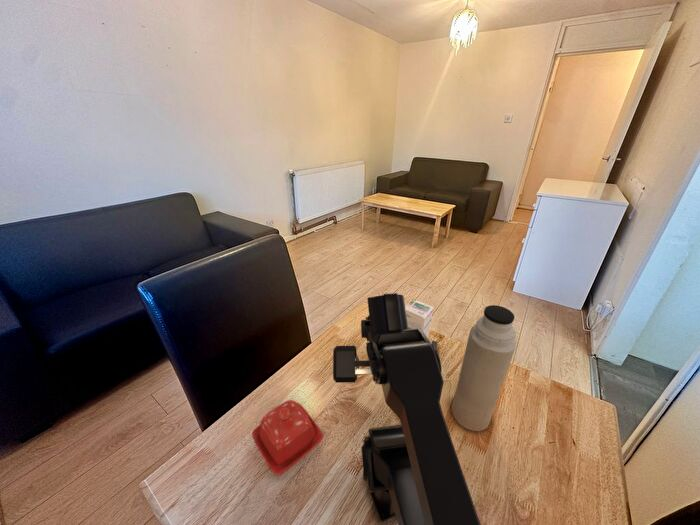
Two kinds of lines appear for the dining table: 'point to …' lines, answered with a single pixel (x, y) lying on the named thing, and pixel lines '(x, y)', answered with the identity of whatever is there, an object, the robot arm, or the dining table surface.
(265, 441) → the butter dish
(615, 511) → the dining table surface
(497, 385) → the thermos bottle
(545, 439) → the dining table surface
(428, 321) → the syrup box
